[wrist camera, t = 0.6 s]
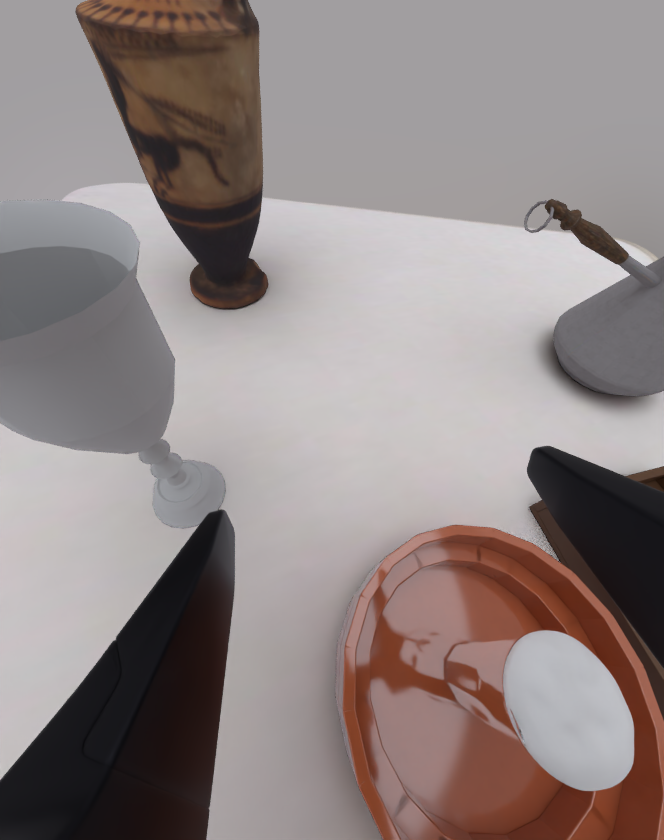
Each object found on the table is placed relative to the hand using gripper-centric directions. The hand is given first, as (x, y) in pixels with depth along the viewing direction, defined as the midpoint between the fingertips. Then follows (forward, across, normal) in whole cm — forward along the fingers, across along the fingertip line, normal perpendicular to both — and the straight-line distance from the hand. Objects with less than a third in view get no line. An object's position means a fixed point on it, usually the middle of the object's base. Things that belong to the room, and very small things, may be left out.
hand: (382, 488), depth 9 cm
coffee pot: (+22, -24, +10) cm, 34 cm away
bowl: (0, -4, +17) cm, 18 cm away
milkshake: (0, -4, +17) cm, 18 cm away
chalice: (+12, +12, +10) cm, 19 cm away
